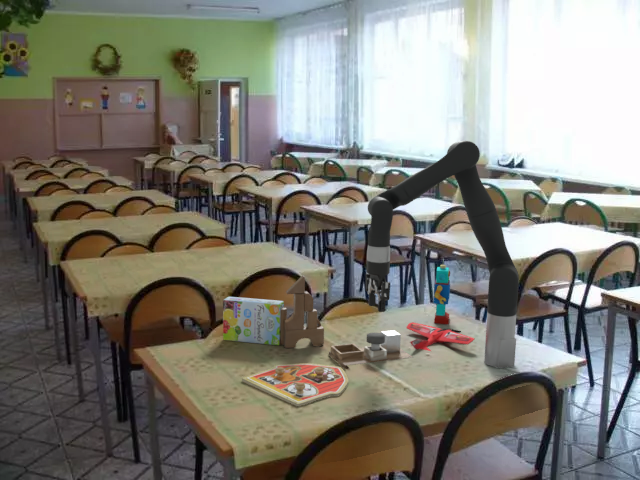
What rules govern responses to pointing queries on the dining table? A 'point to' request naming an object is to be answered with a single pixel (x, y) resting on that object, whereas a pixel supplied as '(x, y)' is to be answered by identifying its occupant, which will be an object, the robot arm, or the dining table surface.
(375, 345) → the gray push button
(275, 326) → the snack box
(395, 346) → the white block
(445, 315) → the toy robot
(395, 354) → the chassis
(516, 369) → the dining table surface
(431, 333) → the toy airplane
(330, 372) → the knob puzzle
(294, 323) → the wooden toy
